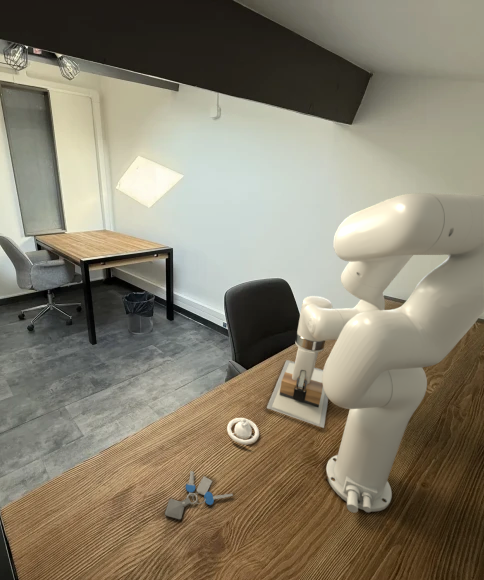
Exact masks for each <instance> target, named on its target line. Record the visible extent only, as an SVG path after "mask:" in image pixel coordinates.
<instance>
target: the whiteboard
mask: <svg viewBox="0 0 484 580" xmlns="http://www.w3.org/2000/svg"><path fill="white" fill-rule="evenodd" d="M294 365H295V361H292V360H288V359H286V360H285V362H284V365H283V367H282V370H281V372H280V374H279V377H278V380H277V381H276V384H275V386H274V389H273V392H272V394H271V396H270V398H269V401H268V403H267V406H266V409H268V410H271V411H274V412H277V413H279V414H283V415H285V416H289V417H291V418H294V419H297V420H300V421H303V422H305V423H308V424H310V425H313V426H317V427H320V428H323V429H324V428H325V424H326V418H327V410H328V404H329V403H328V402H329V398H328V397H327V396H326V394H325V391H324V388H323V389H322V394H321V399H320V403H319V407H315V406H312V405H309V404H306V403H303V402H300V401H297V400H294V399H291V398H288V397H285V396H282V395H280V388H281V382H282V379H283V376H284V374H285V372H287V373H290V374H293V370H294ZM322 375H323V369H321V368H317V367H315V368H314V371H313V374H312V377H311V380H314V381H317V382H321V383H322Z"/></svg>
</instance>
